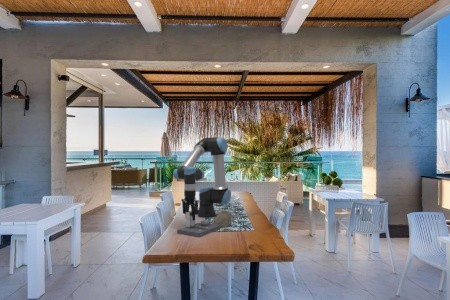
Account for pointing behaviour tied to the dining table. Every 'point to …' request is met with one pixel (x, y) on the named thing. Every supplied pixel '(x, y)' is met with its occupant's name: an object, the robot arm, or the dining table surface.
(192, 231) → the console
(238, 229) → the dining table surface
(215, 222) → the fossil tooth
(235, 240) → the dining table surface
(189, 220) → the fader
